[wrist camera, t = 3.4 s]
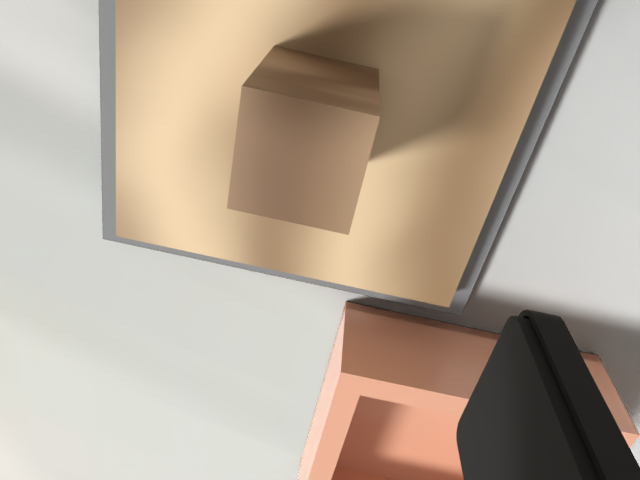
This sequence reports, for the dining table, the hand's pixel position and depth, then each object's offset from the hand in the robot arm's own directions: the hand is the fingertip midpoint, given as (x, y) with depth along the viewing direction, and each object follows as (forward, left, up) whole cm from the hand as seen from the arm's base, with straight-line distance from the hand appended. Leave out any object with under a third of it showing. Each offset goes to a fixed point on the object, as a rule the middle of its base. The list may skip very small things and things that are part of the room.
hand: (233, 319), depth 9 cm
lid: (0, -1, -12) cm, 12 cm away
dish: (-9, +14, -13) cm, 21 cm away
